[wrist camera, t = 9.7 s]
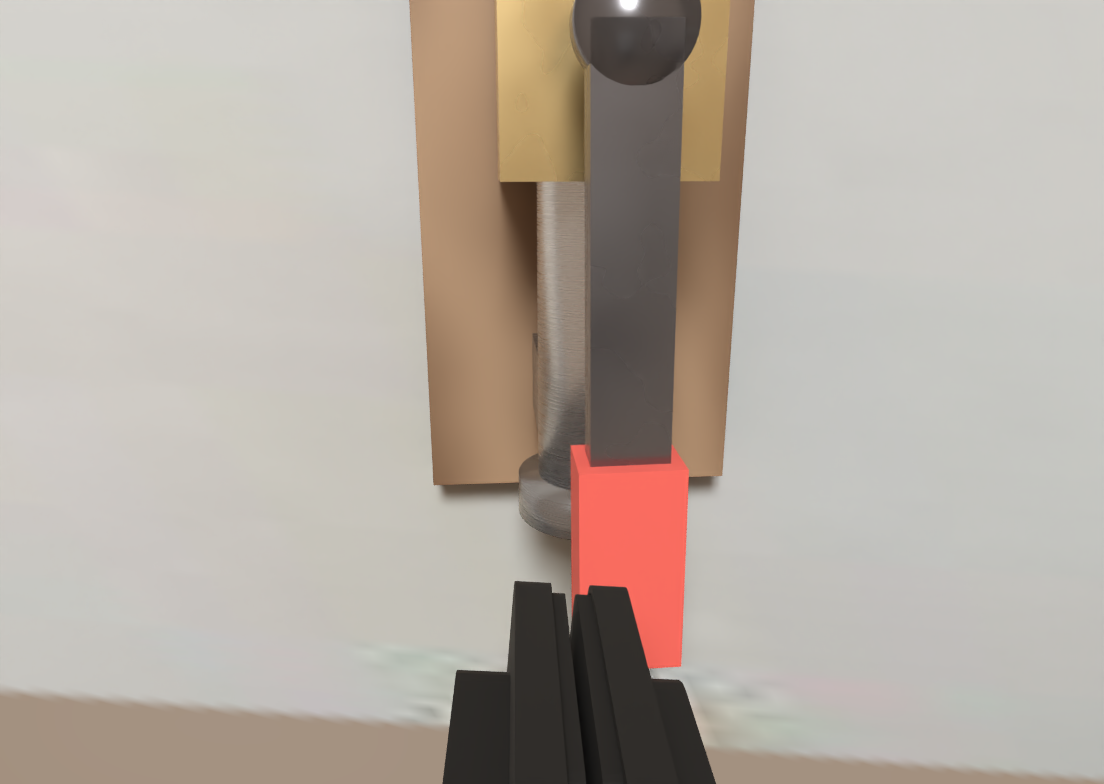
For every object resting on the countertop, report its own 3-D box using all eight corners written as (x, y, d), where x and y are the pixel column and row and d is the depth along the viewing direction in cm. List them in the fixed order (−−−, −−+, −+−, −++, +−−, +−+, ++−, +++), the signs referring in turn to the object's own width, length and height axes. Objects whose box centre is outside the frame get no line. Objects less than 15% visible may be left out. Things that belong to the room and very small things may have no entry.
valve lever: (566, -37, 15) (576, -63, 13) (685, -36, 15) (710, -62, 13) (571, 627, 19) (579, 672, 17) (663, 622, 19) (680, 666, 18)
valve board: (766, -439, 20) (955, -856, 12) (710, 460, 28) (803, 582, 19) (391, -462, 19) (318, -924, 11) (436, 468, 27) (412, 599, 19)
